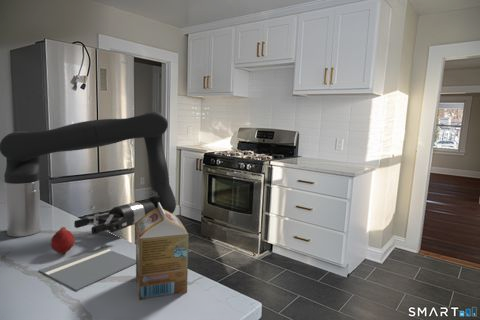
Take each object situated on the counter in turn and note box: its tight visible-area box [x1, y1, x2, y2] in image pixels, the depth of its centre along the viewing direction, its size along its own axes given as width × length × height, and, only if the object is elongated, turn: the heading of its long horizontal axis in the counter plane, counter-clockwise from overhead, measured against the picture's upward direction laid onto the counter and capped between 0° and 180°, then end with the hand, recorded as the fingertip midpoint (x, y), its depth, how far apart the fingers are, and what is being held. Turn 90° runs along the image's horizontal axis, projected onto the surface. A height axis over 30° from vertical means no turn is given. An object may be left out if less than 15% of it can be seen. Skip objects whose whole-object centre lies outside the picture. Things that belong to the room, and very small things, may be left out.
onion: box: [50, 226, 76, 255], centre depth 89 cm, size 6×6×8 cm
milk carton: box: [135, 202, 190, 301], centre depth 74 cm, size 11×11×19 cm
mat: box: [38, 246, 136, 292], centre depth 83 cm, size 16×18×1 cm
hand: (83, 227), depth 94 cm, fingers open, 8 cm apart
